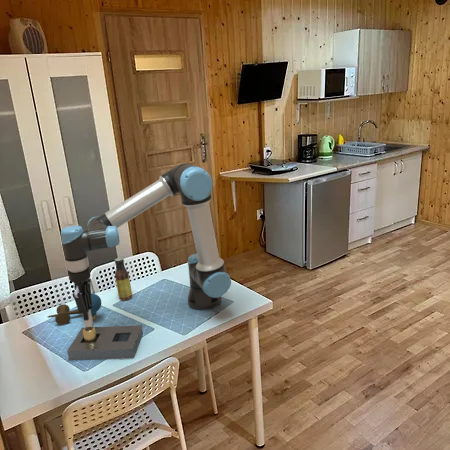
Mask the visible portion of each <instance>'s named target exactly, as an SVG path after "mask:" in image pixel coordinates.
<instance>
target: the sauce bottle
mask: <svg viewBox="0 0 450 450" xmlns="http://www.w3.org/2000/svg"><path fill="white" fill-rule="evenodd" d="M114 263H115V268H116V269H115V271H114V276H115V283H116V284H115V285H116V288H117V289H116V290H117V295H118V299H119V300H120V301H122V302H123V301H129V300H131V299H132V297H133V291H132V286H131V282H130V281H131V279H130V275H129V272H128V270H127V268H126V267H125V261H124V258H123V257H117V258H115V259H114Z"/></svg>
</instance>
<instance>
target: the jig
mask: <svg viewBox="0 0 450 450" xmlns="http://www.w3.org/2000/svg"><path fill="white" fill-rule="evenodd" d="M94 327H95V332H96V338H97V341H96V342H91V343H85V340H84V335H83V329H84V328H85V326H84V327H81V328H80V330H79V331H78V333H77V334H76V336H75V338H74V340H72V342H71V344H70V346H69V347H68V348H67V351H66V352H67V359H68V361H89V360H90V361H91V360H92V361H93V360H111V359H112V360H114V359H115V360H118V359H119V360H121V359H134V358H135V355H136V353H137V351H138V348H139V346H140V343H141V340H142V337H143V326H142V324H141V325H140V324H139V325H116V326H113V325H112V326H94Z"/></svg>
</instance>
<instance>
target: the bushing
mask: <svg viewBox="0 0 450 450" xmlns="http://www.w3.org/2000/svg"><path fill="white" fill-rule="evenodd" d="M84 327H85V326H84ZM95 327H96V326H94V325H93V326H92V327H85V328H84V329H83V335H84V340H85V343H91V342H96V341H97V338H96V332H95Z"/></svg>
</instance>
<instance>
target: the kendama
mask: <svg viewBox="0 0 450 450" xmlns="http://www.w3.org/2000/svg"><path fill="white" fill-rule="evenodd" d="M71 315H82V313H79V311H78V308H77V309H73V310H71V309H70V306H69V305H68V304H65V303H63V304H59V305H58V306H57V307H56V314H51V315H49V316H47V318H55V323H56V324H57V325H59V326H64V325H67V324H69V323H70V321H71Z"/></svg>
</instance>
